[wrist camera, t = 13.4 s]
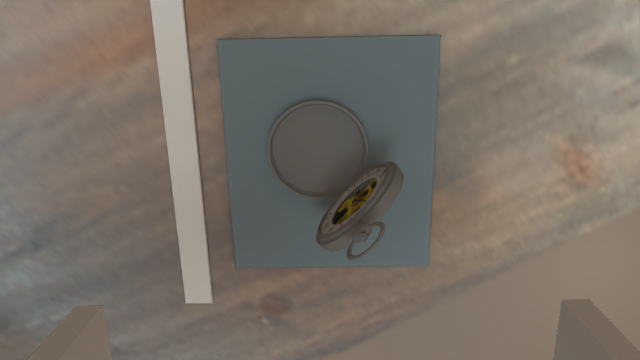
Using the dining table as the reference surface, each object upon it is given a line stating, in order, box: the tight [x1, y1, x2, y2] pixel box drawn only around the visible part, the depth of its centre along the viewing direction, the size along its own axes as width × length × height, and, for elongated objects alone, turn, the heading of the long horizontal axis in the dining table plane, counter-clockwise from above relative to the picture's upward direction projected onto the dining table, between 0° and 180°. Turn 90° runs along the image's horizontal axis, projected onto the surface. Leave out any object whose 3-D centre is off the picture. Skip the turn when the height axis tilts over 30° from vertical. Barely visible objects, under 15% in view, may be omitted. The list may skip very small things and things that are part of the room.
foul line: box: [150, 0, 213, 303], centre depth 33 cm, size 2×22×1 cm, turn 1°
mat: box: [217, 35, 441, 268], centre depth 33 cm, size 14×16×1 cm
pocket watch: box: [267, 100, 404, 261], centre depth 28 cm, size 8×8×10 cm
